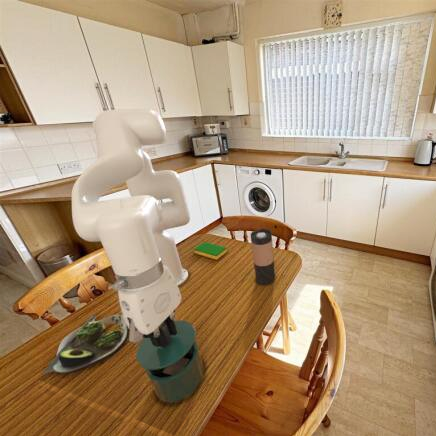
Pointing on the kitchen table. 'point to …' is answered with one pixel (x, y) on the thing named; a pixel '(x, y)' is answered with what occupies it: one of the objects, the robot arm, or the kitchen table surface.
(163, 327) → the lid
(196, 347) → the pot
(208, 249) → the dish sponge
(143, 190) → the robot arm
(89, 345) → the salad plate
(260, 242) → the travel mug
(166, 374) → the block
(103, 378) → the kitchen table surface
